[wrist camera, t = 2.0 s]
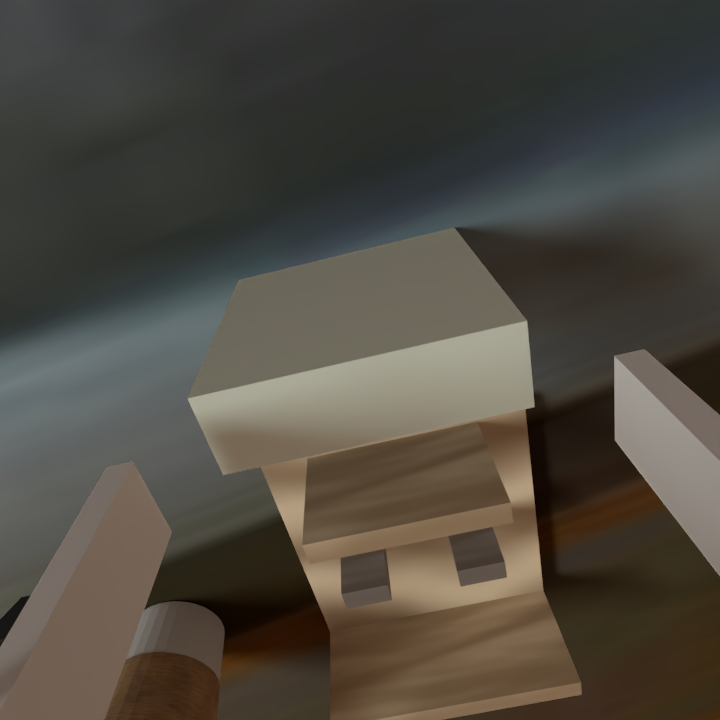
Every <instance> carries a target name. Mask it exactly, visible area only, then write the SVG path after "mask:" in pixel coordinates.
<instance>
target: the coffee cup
mask: <svg viewBox="0 0 720 720" xmlns="http://www.w3.org/2000/svg"><path fill="white" fill-rule="evenodd" d="M224 636H225V631H224V626H223V623H222V621H221V620H220V619H219V617H218V616H217V615H216V614H214V613H213V612H212V611H210V610H209V609H207V608H205V607H203V606H200V605H198V604H194V603H190V602H182V601H169V602H163V603H159V604H156V605H153V606H151V607H149V608H147V609H146V610H144V611H143V614H142V617H141V620H140V622H139V625H138V628H137V631H136V633H135V636H134V639H133V642H132V644H131V647H130V650H129V653H128V656H127V658H126V661H125V664H124V667H123V669H122V672H121V675H120V678H119V680H118V683H117V686H116V689H115V692H114V694H113V697H112V700H111V703H110V705H109V708H108V711H107V714H106V716H105V719H104V720H217V712H218V701H219V689H220V685H219V682H220V673H221V664H222V655H223V646H224Z"/></svg>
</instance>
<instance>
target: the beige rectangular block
mask: <svg viewBox="0 0 720 720" xmlns="http://www.w3.org/2000/svg"><path fill="white" fill-rule="evenodd" d="M187 399H188V401H189V403H190V405H191V407H192V409H193V412H194V414H195V416H196V418H197V420H198V422H199V424H200V427H201V429H202V431H203V433H204V435H205V437H206V439H207V441H208V444H209V446H210V448H211V450H212V452H213V454H214V456H215V458H216V461H217V463H218V465H219V467H220V469H221V471H222V473H223V475H226V474H231V473H235V472H240V471H244V470H249V469H253V468H258V467H263V466H267V465H272V464H276V463H281V462H286V461H290V460H295V459H299V458H304V457H308V456H313V455H318V454H322V453H327V452H331V451H336V450H341V449H345V448H350V447H354V446H359V445H363V444H368V443H373V442H377V441H382V440H386V439H391V438H396V437H400V436H405V435H409V434H414V433H418V432H423V431H428V430H432V429H437V428H441V427H446V426H451V425H455V424H460V423H464V422H469V421H474V420H478V419H483V418H487V417H492V416H496V415H501V414H506V413H510V412H515V411H519V410H524V409H529V408H533V407H535V405H534V393H533V382H532V371H531V359H530V348H529V337H528V325H527V320H526V319H525V317H524V316H523V315H522V314H521V312H520V311H519V310H518V308H517V307H516V306H515V305H514V303H513V302H512V301H511V299H510V298H509V297H508V296H507V294H506V293H505V292H504V291H503V289H502V288H501V287H500V285H499V284H498V283H497V282H496V280H495V279H494V278H493V276H492V275H491V274H490V273H489V271H488V270H487V269H486V267H485V266H484V265H483V264H482V262H481V261H480V260H479V259H478V257H477V256H476V255H475V253H474V252H473V251H472V250H471V248H470V247H469V246H468V244H467V243H466V242H465V241H464V239H463V238H462V237H461V235H460V234H459V233H458V232H457V230H456V229H455V228H450V229H446V230H442V231H438V232H434V233H430V234H426V235H422V236H418V237H413V238H409V239H405V240H401V241H397V242H393V243H389V244H385V245H381V246H377V247H372V248H368V249H364V250H360V251H356V252H352V253H348V254H344V255H340V256H335V257H331V258H327V259H323V260H319V261H315V262H311V263H307V264H303V265H298V266H294V267H290V268H286V269H282V270H278V271H274V272H270V273H266V274H261V275H257V276H253V277H249V278H245V279H241V280H239V281H238V283H237V285H236V288H235V290H234V292H233V294H232V297H231V299H230V301H229V304H228V306H227V308H226V311H225V313H224V315H223V318H222V320H221V322H220V324H219V327H218V329H217V331H216V334H215V336H214V338H213V341H212V343H211V345H210V348H209V350H208V352H207V354H206V357H205V359H204V361H203V364H202V366H201V368H200V371H199V373H198V375H197V378H196V380H195V382H194V384H193V387H192V389H191V391H190V394H189V396H188V398H187Z"/></svg>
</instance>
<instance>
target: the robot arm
mask: <svg viewBox="0 0 720 720" xmlns="http://www.w3.org/2000/svg"><path fill="white" fill-rule="evenodd" d="M614 389H615V441H616V442H617V444H618V445H619V446H620V447H621V449H622V450H623V451H624V453H625V454H626V455H627V457H628V458H629V459H630V460H631V462H632V463H633V464H634V466H635V467H636V468H637V469H638V471H639V472H640V473H641V475H642V476H643V477H644V479H645V480H646V481H647V482H648V484H649V485H650V486H651V488H652V489H653V490H654V492H655V493H656V494H657V495H658V497H659V498H660V499H661V501H662V502H663V503H664V505H665V506H666V507H667V508H668V510H669V511H670V512H671V514H672V515H673V516H674V517H675V519H676V520H677V521H678V523H679V524H680V525H681V527H682V528H683V529H684V530H685V532H686V533H687V534H688V536H689V537H690V538H691V540H692V541H693V542H694V543H695V545H696V546H697V547H698V549H699V550H700V551H701V553H702V554H703V555H704V556H705V558H706V559H707V560H708V562H709V563H710V564H711V566H712V567H713V568H714V569H715V571H716V572H717V573H718V575H719V576H720V415H719V414H718V413H717V412H715V411H714V410H713V409H712V408H711V407H710V406H709V405H707V404H706V403H705V402H704V401H703V400H702V399H701V398H699V397H698V396H697V395H696V394H695V393H694V392H693V391H692V390H690V389H689V388H688V387H687V386H686V385H685V384H684V383H682V382H681V381H680V380H679V379H678V378H677V377H676V376H674V375H673V374H672V373H671V372H670V371H669V370H668V369H666V368H665V367H664V366H663V365H662V364H661V363H660V362H659V361H657V360H656V359H655V358H654V357H653V356H652V355H651V354H649V353H648V352H647V351H646V350H645V349H643V350H638V351H633V352H629V353H624V354H620V355H615V356H614ZM171 534H172V531H171V529H170V528H169V526H168V524H167V522H166V520H165V518H164V517H163V515H162V513H161V511H160V509H159V508H158V506H157V504H156V502H155V500H154V499H153V497H152V495H151V493H150V491H149V490H148V488H147V486H146V484H145V482H144V481H143V479H142V477H141V475H140V473H139V472H138V470H137V468H136V466H135V464H134V463H133V461H132V462H127V463H122V464H118V465H113V466H109V467H106V469H105V470H104V472H103V474H102V476H101V477H100V479H99V481H98V482H97V484H96V486H95V487H94V489H93V491H92V492H91V494H90V496H89V498H88V499H87V501H86V503H85V504H84V506H83V508H82V509H81V511H80V513H79V515H78V516H77V518H76V520H75V521H74V523H73V525H72V526H71V528H70V530H69V531H68V533H67V535H66V537H65V538H64V540H63V542H62V543H61V545H60V547H59V548H58V550H57V552H56V553H55V555H54V557H53V559H52V560H51V562H50V564H49V565H48V567H47V569H46V570H45V572H44V574H43V575H42V577H41V579H40V581H39V582H38V584H37V586H36V587H35V589H34V591H33V592H32V594H31V596H26V597H21V598H20V599H19V601H18V602H17V603H16V604H15V605H14V606H13V607H12V608H11V609H10V610H9V611H8V612H7V613H6V614H5V615H4V616H3V617H2V618H1V619H0V720H104V719H105V716H106V714H107V711H108V708H109V705H110V703H111V700H112V697H113V694H114V692H115V689H116V686H117V683H118V680H119V678H120V675H121V672H122V669H123V667H124V664H125V661H126V658H127V656H128V653H129V650H130V647H131V644H132V642H133V639H134V636H135V633H136V631H137V628H138V625H139V622H140V620H141V617H142V614H143V611H144V609H145V606H146V603H147V600H148V597H149V595H150V592H151V589H152V586H153V584H154V581H155V578H156V575H157V573H158V570H159V567H160V564H161V561H162V559H163V556H164V553H165V550H166V548H167V545H168V542H169V539H170V537H171Z"/></svg>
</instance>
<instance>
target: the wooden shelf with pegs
mask: <svg viewBox="0 0 720 720" xmlns="http://www.w3.org/2000/svg"><path fill="white" fill-rule="evenodd" d="M261 469H262V471H263V473H264V476H265V478H266V480H267V483H268V485H269V488H270V490H271V492H272V495H273V497H274V500H275V502H276V504H277V507H278V509H279V511H280V514H281V516H282V519H283V521H284V523H285V526H286V528H287V530H288V533H289V535H290V538H291V540H292V542H293V545H294V547H295V549H296V552H297V554H298V557H299V559H300V561H301V564H302V566H303V568H304V571H305V573H306V576H307V578H308V580H309V583H310V585H311V587H312V590H313V592H314V595H315V597H316V599H317V602H318V604H319V607H320V609H321V611H322V614H323V616H324V618H325V621H326V623H327V626H328V628H329V630H330V720H443V719H448V718H454V717H460V716H465V715H471V714H476V713H482V712H487V711H493V710H498V709H504V708H510V707H515V706H521V705H526V704H532V703H537V702H543V701H548V700H554V699H560V698H565V697H571V696H576V695H582V693H581V681H580V679H579V676H578V674H577V672H576V669H575V667H574V664H573V662H572V659H571V657H570V654H569V652H568V650H567V647H566V645H565V642H564V640H563V637H562V635H561V632H560V630H559V627H558V625H557V623H556V620H555V618H554V615H553V613H552V610H551V608H550V605H549V603H548V600H547V598H546V596H545V593H544V591H543V582H542V572H541V562H540V552H539V541H538V531H537V521H536V511H535V501H534V491H533V481H532V471H531V460H530V450H529V440H528V430H527V420H526V410H525V409H524V410H519V411H515V412H510V413H506V414H501V415H496V416H492V417H487V418H483V419H478V420H474V421H469V422H464V423H460V424H455V425H451V426H446V427H441V428H437V429H432V430H428V431H423V432H418V433H414V434H409V435H405V436H400V437H396V438H391V439H386V440H382V441H377V442H373V443H368V444H363V445H359V446H354V447H350V448H345V449H341V450H336V451H331V452H327V453H322V454H318V455H313V456H308V457H304V458H299V459H295V460H290V461H286V462H281V463H276V464H272V465H267V466H263V467H261Z"/></svg>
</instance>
